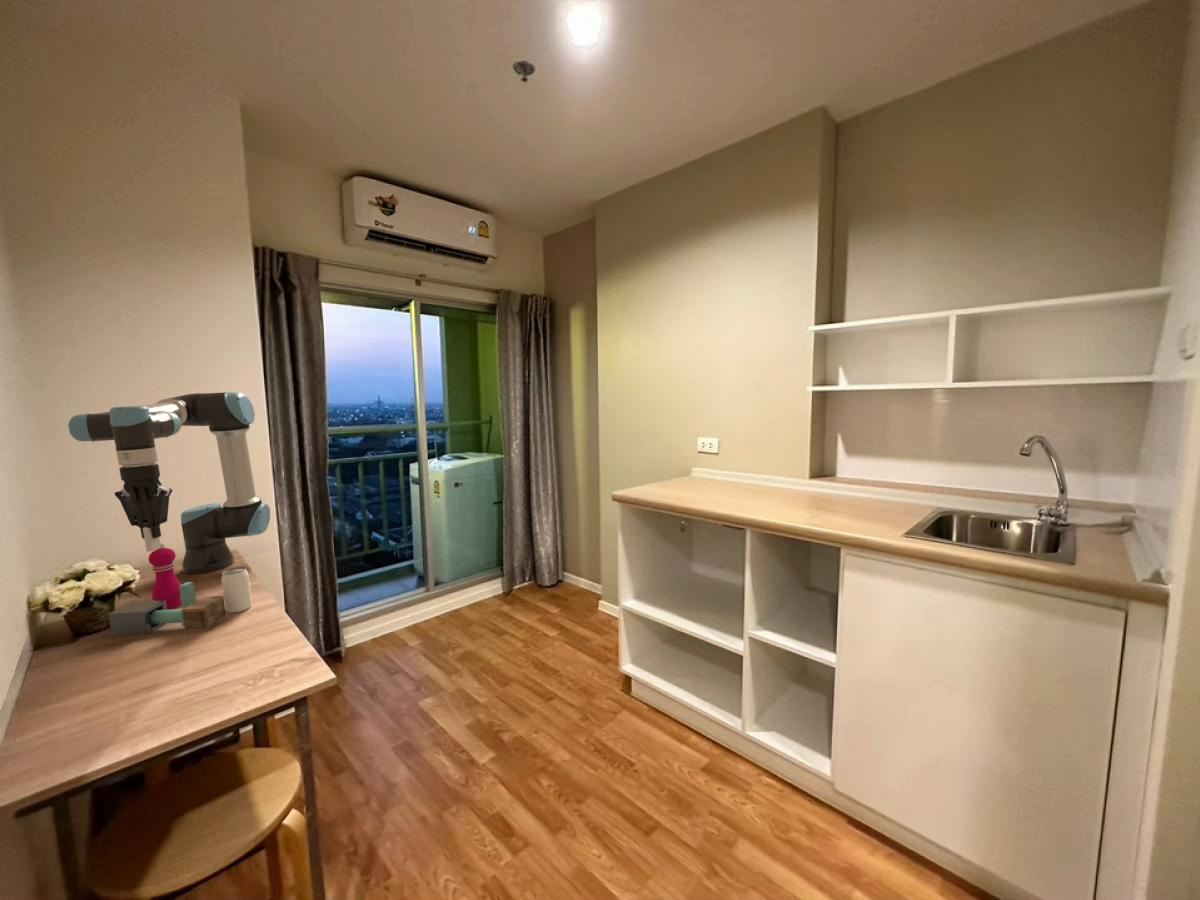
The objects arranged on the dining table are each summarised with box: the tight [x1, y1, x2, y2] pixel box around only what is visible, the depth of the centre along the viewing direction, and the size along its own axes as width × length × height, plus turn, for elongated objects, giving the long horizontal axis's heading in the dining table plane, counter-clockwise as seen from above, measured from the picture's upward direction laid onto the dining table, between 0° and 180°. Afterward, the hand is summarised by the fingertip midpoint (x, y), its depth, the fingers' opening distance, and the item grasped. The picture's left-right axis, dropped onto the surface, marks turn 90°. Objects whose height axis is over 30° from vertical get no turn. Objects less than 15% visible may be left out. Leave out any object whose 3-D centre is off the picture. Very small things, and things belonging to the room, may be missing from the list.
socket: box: [181, 595, 227, 634], centre depth 132 cm, size 8×6×7 cm
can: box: [220, 566, 253, 614], centre depth 142 cm, size 6×6×12 cm
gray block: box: [108, 600, 168, 638], centre depth 131 cm, size 7×9×7 cm
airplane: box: [148, 581, 197, 627], centre depth 131 cm, size 16×5×11 cm, turn 94°
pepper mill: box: [148, 543, 183, 610], centre depth 144 cm, size 7×7×20 cm
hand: (153, 549), depth 129 cm, fingers closed
